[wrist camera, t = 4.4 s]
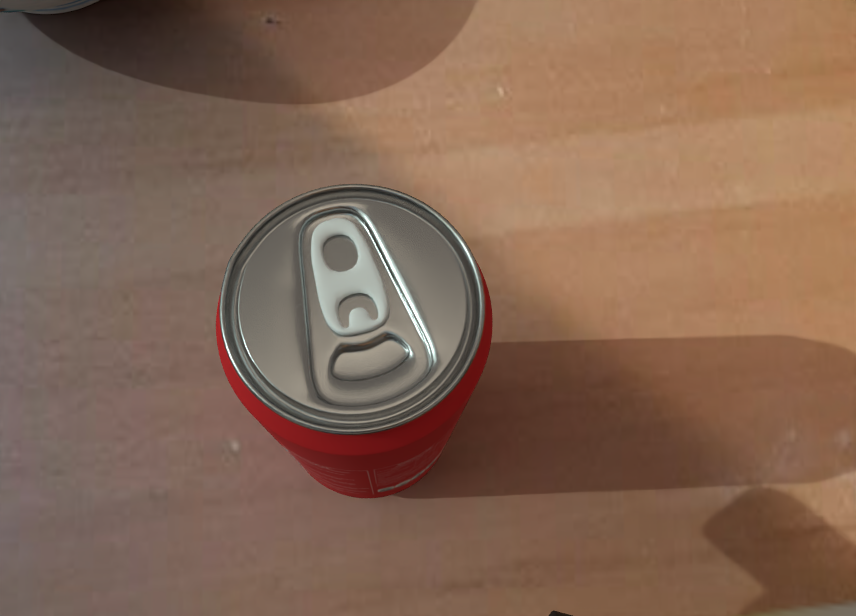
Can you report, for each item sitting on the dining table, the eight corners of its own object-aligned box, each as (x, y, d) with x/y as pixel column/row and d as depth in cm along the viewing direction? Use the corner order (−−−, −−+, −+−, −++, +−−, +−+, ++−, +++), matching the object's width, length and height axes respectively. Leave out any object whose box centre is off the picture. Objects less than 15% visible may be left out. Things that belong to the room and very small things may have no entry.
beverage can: (312, 521, 23) (240, 488, 12) (275, 368, 25) (178, 208, 13) (468, 473, 24) (540, 399, 12) (421, 328, 25) (448, 143, 14)
